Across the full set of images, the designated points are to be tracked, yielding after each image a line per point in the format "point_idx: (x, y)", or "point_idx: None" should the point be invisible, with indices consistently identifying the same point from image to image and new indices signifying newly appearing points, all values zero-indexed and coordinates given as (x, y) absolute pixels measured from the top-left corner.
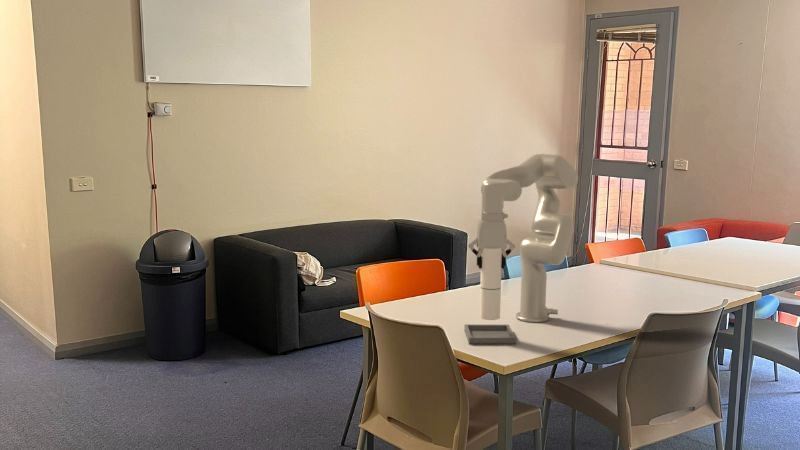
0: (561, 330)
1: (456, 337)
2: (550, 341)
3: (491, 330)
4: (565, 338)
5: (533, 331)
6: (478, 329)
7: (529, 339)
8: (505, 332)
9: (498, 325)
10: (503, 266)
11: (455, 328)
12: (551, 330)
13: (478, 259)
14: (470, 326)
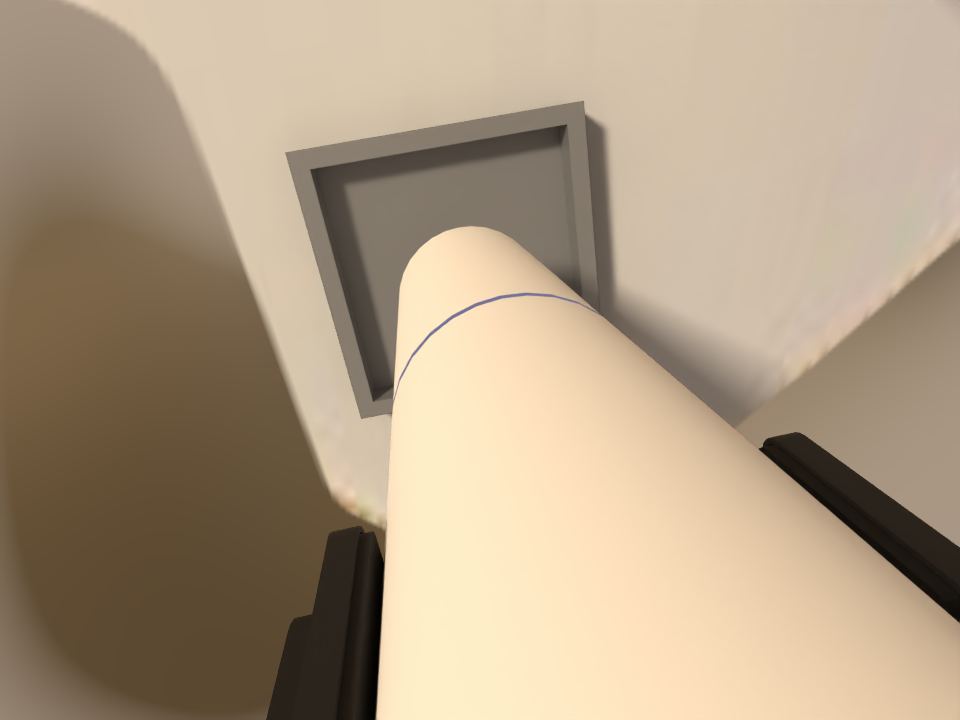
0: (890, 29)
1: (274, 298)
2: (768, 268)
3: (468, 149)
4: (858, 199)
5: (720, 84)
6: (385, 156)
7: (670, 255)
8: (552, 178)
9: (516, 132)
10: None
11: (221, 99)
12: (832, 40)
13: None
14: (330, 165)
